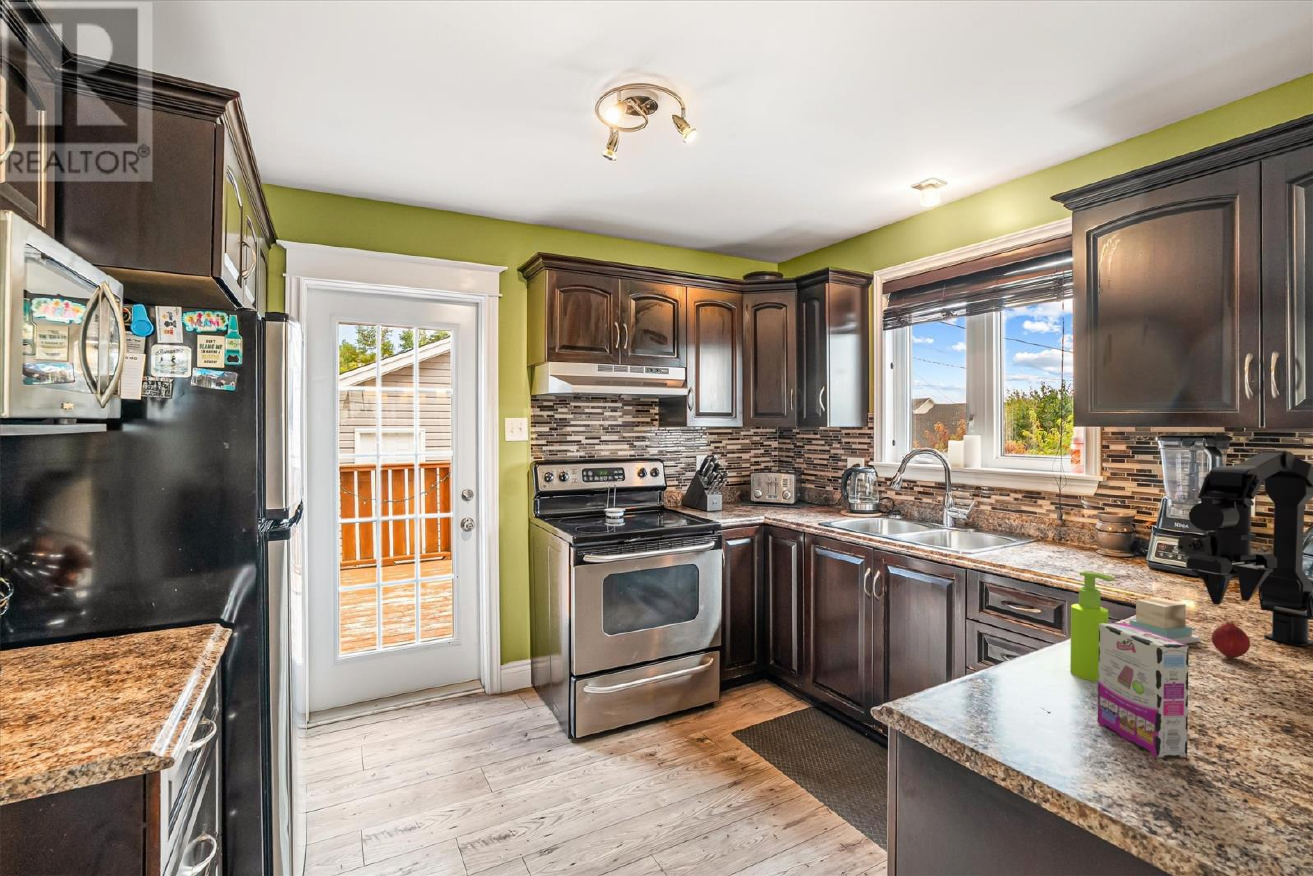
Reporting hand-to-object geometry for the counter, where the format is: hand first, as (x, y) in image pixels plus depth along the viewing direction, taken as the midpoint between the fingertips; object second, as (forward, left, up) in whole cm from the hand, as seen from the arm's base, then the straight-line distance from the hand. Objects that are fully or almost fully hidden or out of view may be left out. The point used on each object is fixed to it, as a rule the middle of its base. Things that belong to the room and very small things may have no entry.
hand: (1230, 602), depth 127 cm
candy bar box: (+54, +18, -12) cm, 58 cm away
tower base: (-1, -14, -12) cm, 18 cm away
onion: (0, 0, -12) cm, 12 cm away
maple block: (-1, -14, -9) cm, 16 cm away
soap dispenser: (+37, -2, -12) cm, 39 cm away
